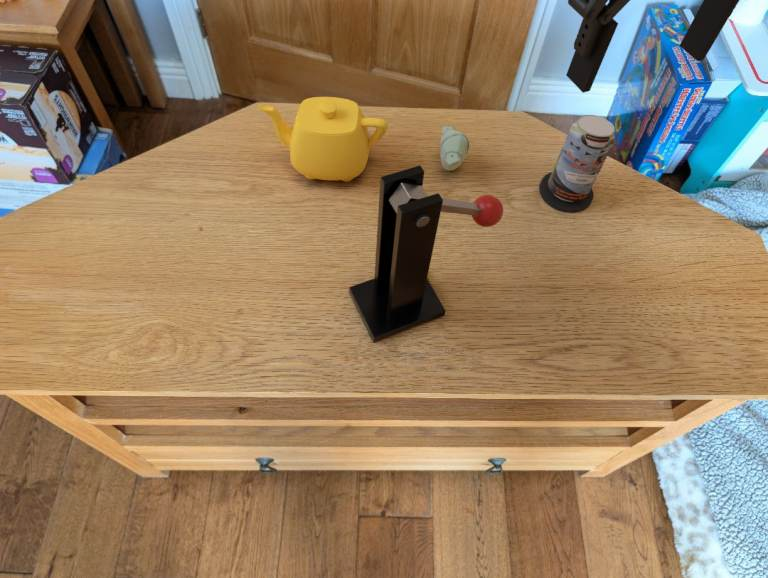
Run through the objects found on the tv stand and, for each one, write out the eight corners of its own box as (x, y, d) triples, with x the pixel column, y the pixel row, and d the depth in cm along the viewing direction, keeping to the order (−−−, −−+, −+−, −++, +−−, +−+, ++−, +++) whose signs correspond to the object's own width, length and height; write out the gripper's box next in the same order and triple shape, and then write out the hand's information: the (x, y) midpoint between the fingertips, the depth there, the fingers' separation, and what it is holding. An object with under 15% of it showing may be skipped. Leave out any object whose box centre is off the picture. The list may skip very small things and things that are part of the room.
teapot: (261, 185, 82) (250, 129, 73) (272, 134, 88) (263, 75, 79) (383, 193, 82) (387, 137, 73) (386, 140, 88) (390, 83, 79)
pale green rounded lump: (434, 149, 88) (439, 115, 82) (459, 149, 88) (467, 115, 82) (439, 187, 84) (446, 154, 78) (466, 187, 84) (475, 153, 78)
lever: (479, 212, 66) (498, 190, 64) (495, 234, 65) (515, 212, 62) (382, 199, 56) (401, 172, 54) (397, 225, 55) (417, 198, 53)
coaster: (602, 203, 83) (604, 201, 83) (558, 219, 81) (559, 216, 81) (572, 167, 87) (573, 164, 87) (529, 181, 85) (530, 178, 85)
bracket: (417, 268, 75) (438, 147, 57) (444, 315, 72) (476, 202, 53) (348, 292, 73) (347, 173, 54) (373, 342, 69) (381, 233, 51)
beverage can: (544, 203, 82) (571, 141, 72) (547, 168, 86) (573, 104, 76) (587, 211, 82) (620, 150, 71) (588, 176, 85) (620, 113, 75)
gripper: (664, -188, 30) (548, 123, 48) (959, -223, 37) (761, 62, 54) (584, -233, 34) (504, 72, 52) (865, -257, 40) (708, 21, 58)
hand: (636, 67), depth 53 cm, fingers open, 13 cm apart
